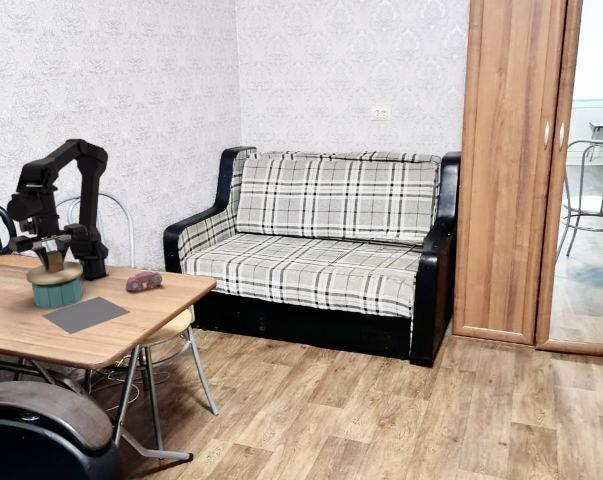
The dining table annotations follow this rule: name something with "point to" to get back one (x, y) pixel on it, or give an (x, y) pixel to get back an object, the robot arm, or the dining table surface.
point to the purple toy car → (144, 280)
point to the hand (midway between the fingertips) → (54, 267)
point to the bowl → (57, 293)
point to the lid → (54, 270)
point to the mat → (85, 314)
